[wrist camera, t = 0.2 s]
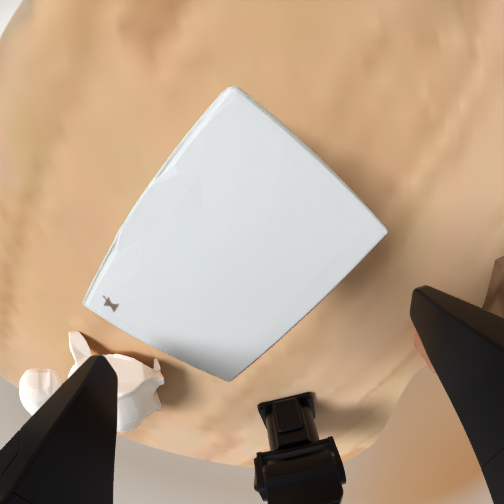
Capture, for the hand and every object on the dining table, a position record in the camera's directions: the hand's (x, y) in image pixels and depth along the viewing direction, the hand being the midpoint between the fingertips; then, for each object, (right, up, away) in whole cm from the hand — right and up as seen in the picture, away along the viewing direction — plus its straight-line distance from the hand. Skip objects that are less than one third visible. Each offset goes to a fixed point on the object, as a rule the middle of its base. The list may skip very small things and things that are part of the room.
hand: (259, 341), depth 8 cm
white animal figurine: (-16, -9, +20) cm, 27 cm away
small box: (-2, +8, +12) cm, 15 cm away
